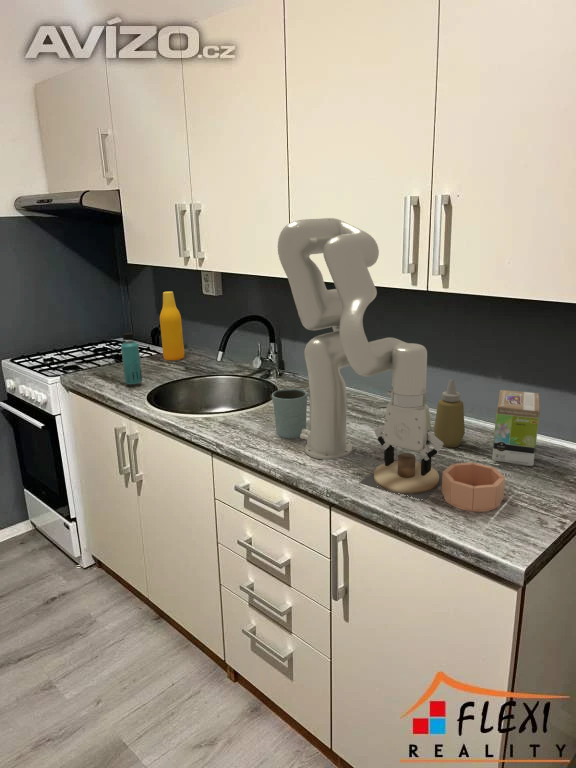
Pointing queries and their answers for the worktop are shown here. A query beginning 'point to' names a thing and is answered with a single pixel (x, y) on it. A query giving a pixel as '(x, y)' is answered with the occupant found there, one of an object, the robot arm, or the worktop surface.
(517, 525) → the worktop surface
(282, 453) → the worktop surface
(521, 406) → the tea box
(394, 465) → the lid
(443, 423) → the squeeze bottle
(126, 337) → the beverage bottle
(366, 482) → the mat
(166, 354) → the beer bottle
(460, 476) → the bowl
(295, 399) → the blue-green cup
